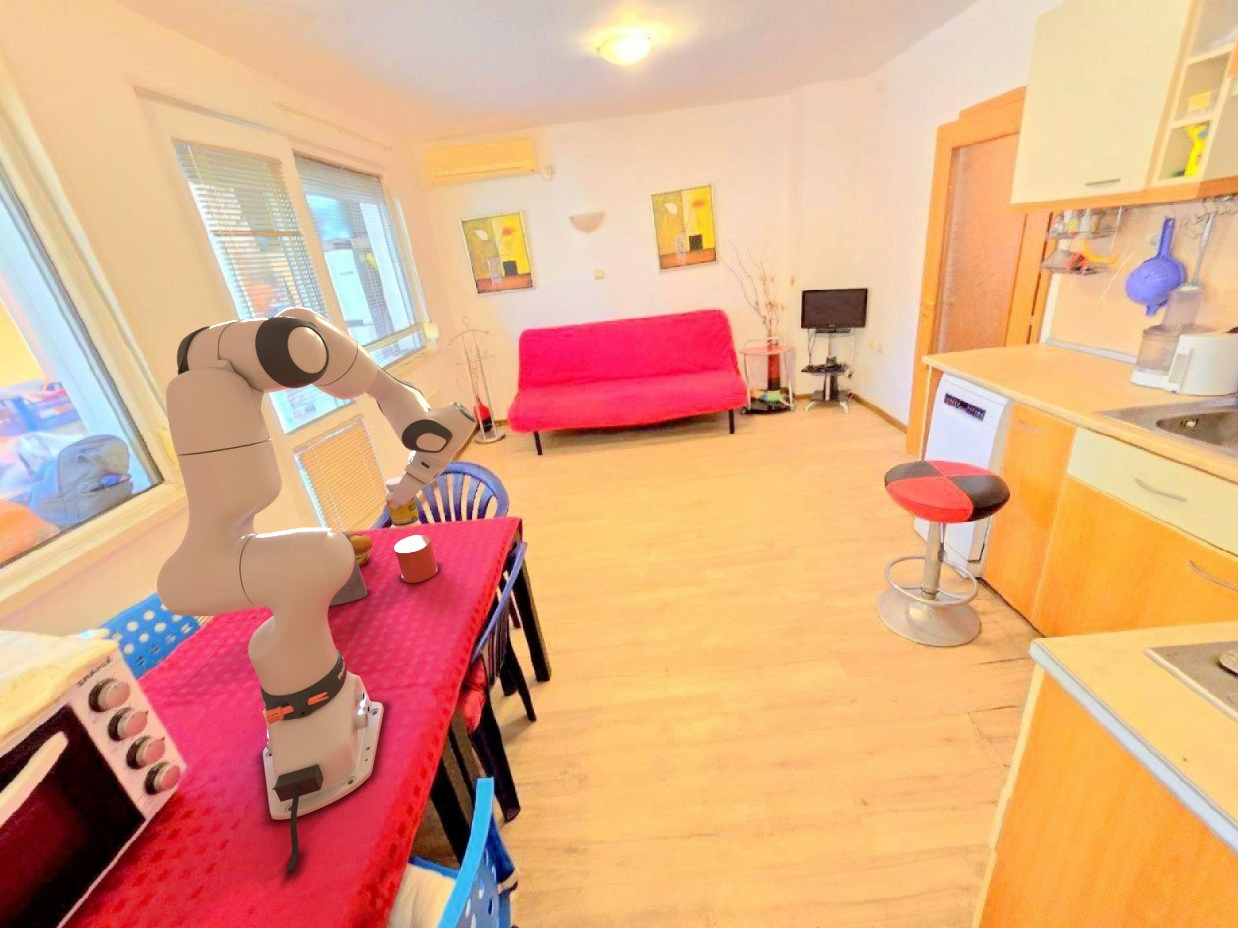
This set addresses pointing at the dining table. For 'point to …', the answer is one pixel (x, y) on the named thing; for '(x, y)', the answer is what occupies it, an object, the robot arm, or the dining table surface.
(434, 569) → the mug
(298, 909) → the dining table surface
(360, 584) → the hip flask
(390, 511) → the pill bottle
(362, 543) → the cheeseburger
